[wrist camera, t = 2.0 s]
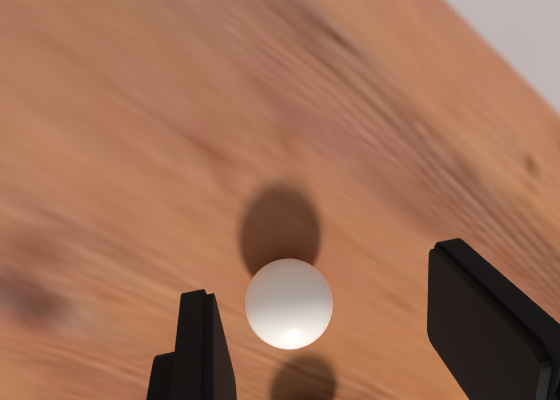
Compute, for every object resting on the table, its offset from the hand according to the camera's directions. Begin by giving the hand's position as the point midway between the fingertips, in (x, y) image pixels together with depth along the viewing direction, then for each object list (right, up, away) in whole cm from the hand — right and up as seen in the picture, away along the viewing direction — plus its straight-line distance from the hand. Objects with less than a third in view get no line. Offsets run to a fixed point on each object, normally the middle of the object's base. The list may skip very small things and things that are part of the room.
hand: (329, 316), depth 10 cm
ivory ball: (-1, -3, +16) cm, 16 cm away
